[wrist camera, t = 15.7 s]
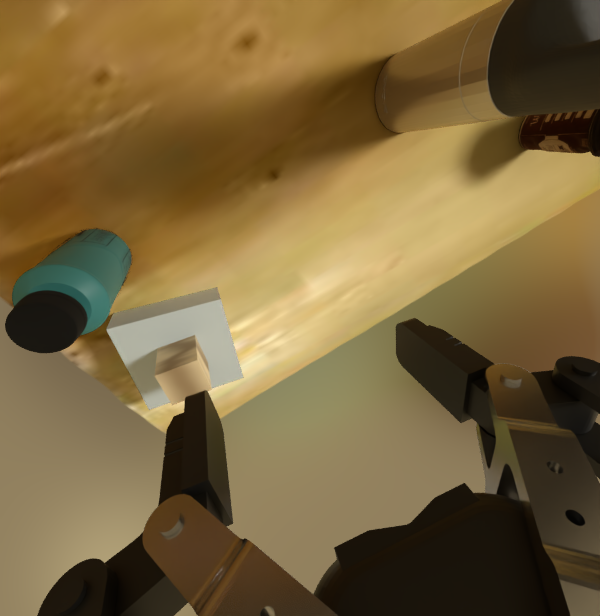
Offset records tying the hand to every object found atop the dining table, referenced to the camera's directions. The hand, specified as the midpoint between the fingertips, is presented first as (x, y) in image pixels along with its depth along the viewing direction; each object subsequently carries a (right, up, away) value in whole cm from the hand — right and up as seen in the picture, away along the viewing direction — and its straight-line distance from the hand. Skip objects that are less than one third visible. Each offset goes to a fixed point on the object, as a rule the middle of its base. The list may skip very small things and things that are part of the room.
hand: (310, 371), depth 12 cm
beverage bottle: (-25, +10, +24) cm, 36 cm away
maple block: (-17, -4, +29) cm, 34 cm away
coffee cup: (+40, +34, +39) cm, 65 cm away
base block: (-18, -2, +33) cm, 38 cm away
